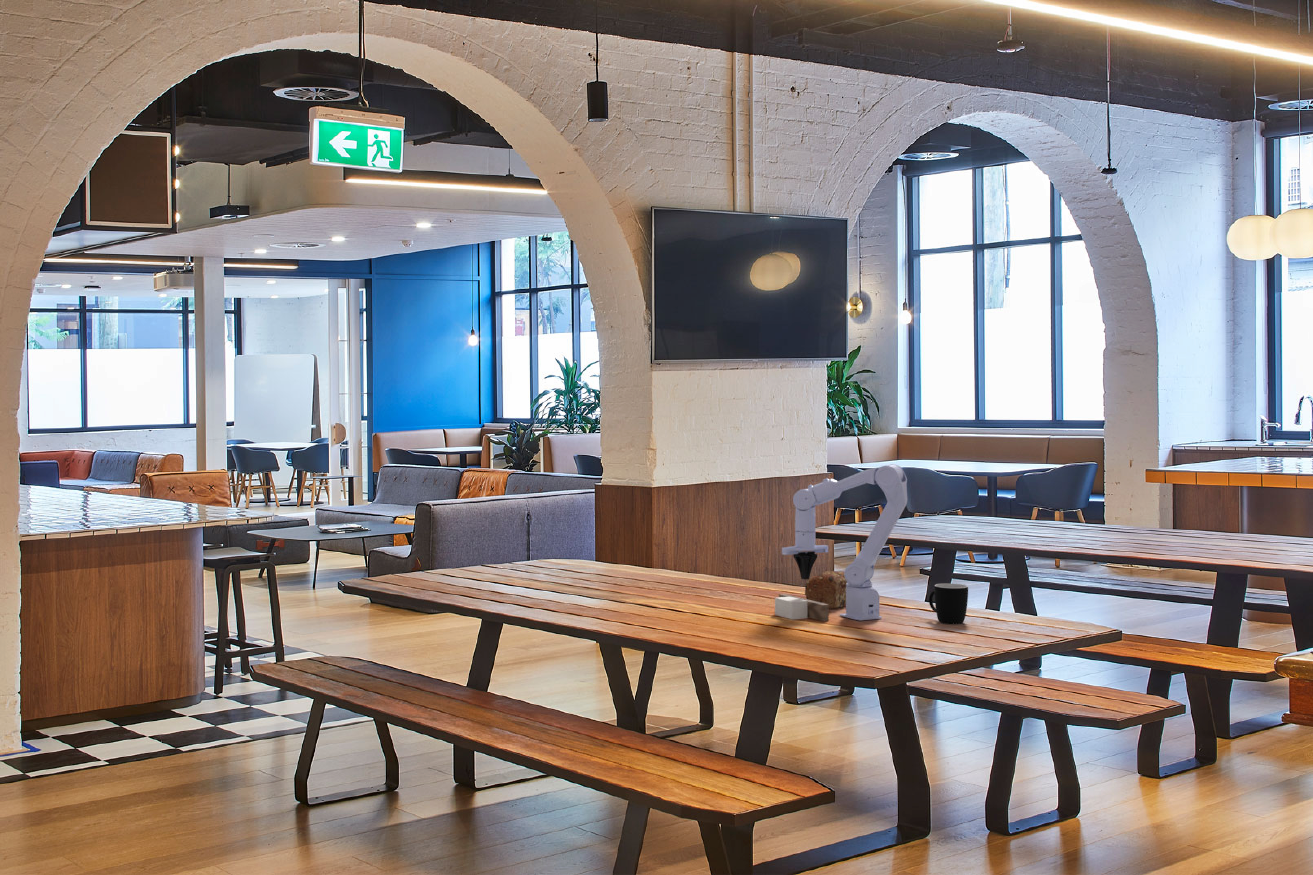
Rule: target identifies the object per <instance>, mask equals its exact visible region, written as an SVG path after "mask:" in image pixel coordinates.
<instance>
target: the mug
mask: <svg viewBox="0 0 1313 875" xmlns="http://www.w3.org/2000/svg"><path fill="white" fill-rule="evenodd" d="M933 597H934V603H933ZM968 599H969V586H968V585H966V584H961V583H936V584H934V590H933V591H931V593H930V594H929V599H928V604H929V607H930V608H931V610H932V611H933V612H934V613H936V618H937V621H938V622H939V623H940V624H943V625H961V624H963V623H964V621H965V619H966V616H967V608H968Z"/></svg>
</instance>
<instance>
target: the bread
mask: <svg viewBox="0 0 1313 875" xmlns="http://www.w3.org/2000/svg"><path fill="white" fill-rule="evenodd" d="M844 572H845V571H844V570H843V571H842V570H839V571H836V570H825V571H824V572H823V571H822V572H821V573H818V574H815V575H813V576H811V577H809V579H807V581H806V582H805V587H804V588H805V590H804V595H805V596H804V597H805V599H808V600H812V601H816V602H820V603H824V604H829V610H836V609H838V608H842V607H843V608H844V607H846V606H845V605H846V583H848V582H847V581H846V579H845V576H844Z"/></svg>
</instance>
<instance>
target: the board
mask: <svg viewBox="0 0 1313 875" xmlns="http://www.w3.org/2000/svg"><path fill="white" fill-rule="evenodd" d="M778 597H794V598H798V599H802V600H806V601H807V619H808V618H809V619H812V620H816V621H820V622H829V620H830V619H829V618H830V617H829V616H830V615H829V613H830V612H829V610H830V609H829V604H824V603H820V602H816V601H812V600H808V599H806V598H803V597H799V596H795V595H791V594H787V593H779V594H778Z"/></svg>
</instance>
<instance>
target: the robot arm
mask: <svg viewBox="0 0 1313 875" xmlns="http://www.w3.org/2000/svg"><path fill="white" fill-rule="evenodd" d="M907 483H908V478H907V476H906V473H905V471H904V469H903V468H902V467H901V466H900V465H898V464H895V463H894V464H893V463H892V464H891V463H890V464H888V465H881V466H879V467H873V468H867V469H866V470H861V471H860V472H858V473H855V474H853V475H850V476H848V477H845V478H842V479H840V480H836V479H834V478H830V479H829V478H823V479H822V482H819V483H817V484H814V485H812V484H809V485H807V488H800V489H799V490H798V491H796V492H795V493H794V494H793V497H792V501H793V503H792V504H793V505H794V507H795V516H794V517H795V519H794V525H795V527H794V531H795V532H794V536H795V537H794V541H795V542H794V546H787V547H786V546H785V547H781V555H785V556H789V555H793V559H794V560H795V562H796V565H797V567H798V570H799V573H800V578H801V580H809V579H810V578H811V577H810V576H811V573H812V569H813V566H814V564H815V562H816V560H817V558H818V554H820V553H826V554H827V553H829V545H826V544H821V545H820V544H819V545H818V544H817V545H816V507H817V506H819V505H820V506H821V505H823V504H826V503H829V502H832V501H833V500H836V499H839V498H840V496H841V495H842V493H843V492H844V491H847V490H850V489H854V488H856V487H859V486H862V485H865V484H870V485H878V486H879V487H880V489H881V491H882V492H883V493H884V495H885V496H884V497H885V498H886V501H887V502H886V504H885V506H884V508H883V510H882V512H881V513H880V516H879V517H878V519H877V521H876V523H875V524H874V527H873V528H872V530H871V532H870V534H869V535H868V537H867V538H866V541H865V542H864V544H863V546H862V548H861V550H860V552H858V554H857V555H856V557H855V558H854V560H853V561H852V562H851V563H850V564H848V565H847V566H846V568H845V569H844V571H843V572H844V576H845V579H846V581H847V582H848V583H846V606H845V613H839V616H840V617H842V618H848V619H851V620H854V621H855V620H856V621H868V620H870V621H871V620H879V619H883V616H880V594H879V591H878V590H876V589H874V588H873V583H872V581H871V579H872V578H873V577H874V575H875V574H874V573H875V571H874V570H875V565H876V564H877V560H878V558H879V555H880V553H881V551H882V550H883V548H884V546H885V544H886V542H887V541H888V539H889V537H890V536H891V534H892V531H893V530H894V528H895V526H896V524H897V522H898V520H899V519H900V517H901V515H902V513H903V512H904V510H905V508H906V506H907V504H908V490H907V489H908V488H907ZM817 553H818V554H817Z"/></svg>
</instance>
